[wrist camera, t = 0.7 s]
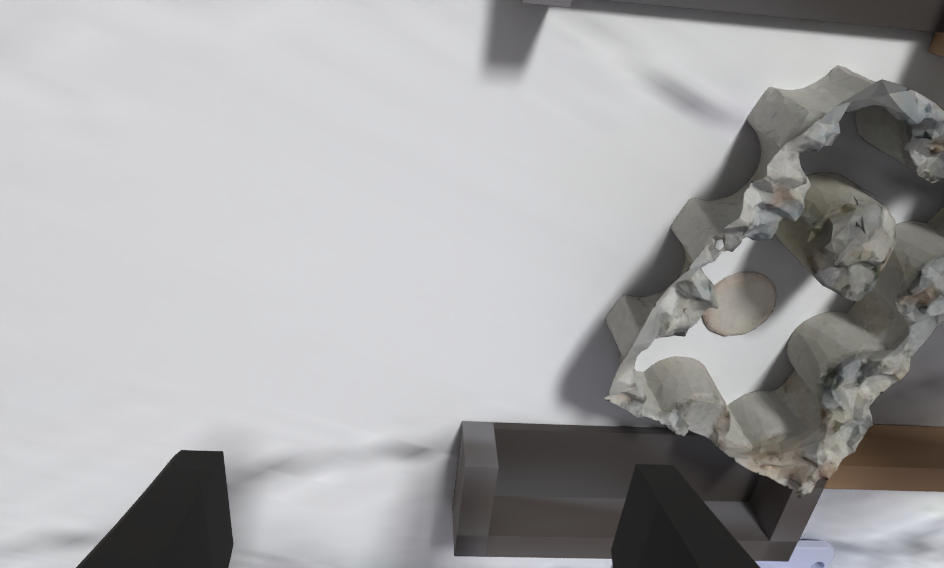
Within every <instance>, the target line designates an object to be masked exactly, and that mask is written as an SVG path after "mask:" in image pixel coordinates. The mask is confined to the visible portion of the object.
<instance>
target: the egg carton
mask: <svg viewBox="0 0 944 568" xmlns="http://www.w3.org/2000/svg"><path fill="white" fill-rule="evenodd" d="M855 110H856V115H855V118H856V125H857V131H858V132H859V134H860V135H861V137H862V138H863V139H864V140H865V141H866V142H868V143H869V144H871V145H872V146H874V147H876V148H877V149H879V150H881V151H882V152H884V153H885V154H887V155H889V156H891V157H893V158H894V159H896V160H898V161H899V162H901V163H902V164H904V165H905V166H906V167H908V168H909V169H911V170H912V171H913V172H914V173H915V174H917V175H918V176H919V177H922V178H924V179H925V180H927V181H929V182H931V183H936V182H939V181H941V180H944V111H943V110H942V109H940V108H939V106H938V105H937V104H935V103H934V102H933V101H931V100H929V99H927V98H926V97H924V96H922V95H921V94H919V93H917V92H916V91H913V90H911V89H909V88H907V87H905V86H902V85H899V84H896V83H892V82H889V81H886V80H880V81H878V82H874V81H871V80H869V79H867V78H865V77H863V76H861V75H859V74H856V73H854V72H852V71H850V70H849V69H847V68H846V67H842V66H836V67H835V68H834V69H833V70H832V71H831V72H829V73H828V74H827V75H826V76H825V77H823V78H822V79H820V80H819V81H817V82H815V83H813V84H811V85H809V86H807V87H805V88H803V89H795V90H784V89H778V88H774V87H769V88H768V89H767V90H766V91H765V92H764V94H763V95H762V97H761V98H760V99H759V101H758V102H757V104H756V105H755V107H754V108H753V109H752V111H751V112H750V114H749V116H748V118H747V121H748V123H749V124H750V126H751V127H752V128H753V129H754V130H755V132H756V134H757V136H758V139H759V142H760V145H761V158H760V162H759V166H758V167H757V170H756V172H755V173H754V175H753V176H752V177H751V179H750V180H749V181H748V182H747V183H746V184H745V185H744V186H743V187H742V188H741V189H740V190H739V191H738V192H736V193H734V194H732V195H730V196H728V197H725V198H722V199H717V200H700V199H696V198H691V199H690V200H689V201H688V202H687V203H686V204H685V206H684V207H683V209H682V210H681V212H680V213H679V214H678V216H677V217H676V218H675V220H674V221H673V223H672V225H671V229H672V231H673V232H674V234H675V235H676V236H677V238H678V239H679V241H680V242H681V243H682V245H683V246H684V249H685V258H686V260H685V263H684V266H683V269H682V272H681V273H680V275H679V276H678V278H677V280H676V281H675V282H674V283H672V284H671V285H670V286H669V287H667V288H666V289H664V290H663V291H661V292H659V293H656V294H654V295H651V296H645V297H633V296H628V295H622V296H621V297H620V298H619V300H618V301H617V302H616V303H615V305H614V306H613V308H612V309H611V311H610V312H609V314H608V315H607V317H606V323H607V326H608V328H609V329H610V331H611V332H612V334H613V337H614V339H615V342H616V344H617V346H618V349H619V350H620V354H621V355H620V357H619V369H618V371H617V373H616V375H615V377H614V380H613V383H612V385H611V388H610V391H609V394H608V396H606V397H605V398H604V399H606V400H608V401H609V402H612V403H614V404H616V405H618V406H620V407H621V408H623V409H625V410H626V411H628V412H630V413H631V414H633V415H635V416H636V417H638V418H641V417H644V416H646V417H649V418H651V419H653V420H656V421H658V422H659V423H661V424H663V425H665V426H666V427H668V428H669V429H670V430H672V431H673V432H674V433H676V434H677V435H681V436H685V435H686V433H687V432H688V430H690V431H692V432H694V433H697V434H700V435H702V436H705V437H707V438H709V439H710V440H712V442H713V443H714V444H715V445H716V446H717V447H718V448H719V449H721V450H722V451H723V452H724V453H726V454H727V455H728V456H729V457H731V458H732V459H733V460H735V461H736V462H737V463H739V464H741V465H742V466H744V467H745V468H747V469H749V470H751V471H753V472H755V473H758V474H760V475H763V476H767V477H769V478H770V479H772V480H774V481H776V482H778V483H780V484H782V485H784V486H785V487H787V488H790V489H797V491H796V493H795V495H796V496H797V497H798V498H799V499H801V498H803V497H804V496H805V495H806V494H808V493H811V492H812V490H813V488H814V486H815V483H816V482H817V481H818V480H819V479H825V480H828V479H829V478H830V477H831V476H832V474H833V473H834V472H836V471H837V470H838V467H839V464H840V462H841V461H842V459H843V458H845V457H846V456H848V455H849V454H851V453H853V452H855V451H856V448H857V446H858V444H859V442H860V441H861V440H862V439H863V437H864V435H865V433H866V432H867V430H868V429H869V428H870V427H871V426H873V423H872V415H871V412H870V409H869V407H870V405H871V404H872V403H873V401H874V400H875V399H876V397H877V396H879V395H880V394H881V393H883V392H884V391H885V390H886V389H887V388H889V387H890V386H891V385H892V384H894V383H896V382H898V381H899V380H901V379H902V378H903V377H904V376H905V375H906V374H907V373H908V372H909V370H910V362H911V357H912V356H913V355H914V354H915V353H916V352H917V350H918V349H919V348H920V347H921V346H922V345H923V344H924V343H925V342H926V340H927V339H928V338H929V337H930V335H931V334H932V332H933V331H934V330H935V328H936V327H937V326H938V325H939V324H941V323H942V322H944V207H943V208H942V209H941V210H940V211H939V212H938V213H937V214H936V215H935V216H934V217H933V218H932V219H931V220H930V221H929V222H927V223H924V222H918V221H909V222H903V223H899V224H895V219H894V218H893V216H892V215H891V213H890V212H889V210H888V209H887V208H886V207H884V206H883V205H882V204H880V203H879V202H877V201H876V200H875V199H873V198H872V197H871V196H869V195H868V194H866V193H865V192H864V191H862V190H861V189H859V188H858V187H860V186H858V185H856V184H854V183H853V182H851V181H849V180H848V179H846V178H844V177H843V176H839V175H837V174H833V173H817V174H812V175H809V176H806V175H805V173H804V172H803V170H802V168H801V165H800V158H799V156H800V153H802V152H804V151H806V150H810V151H814V152H819V151H820V149H821V148H822V147H823V146H832V145H833V143H834V142H835V141H836V139H837V138H838V136H839V135H840V127H839V121H840V120H841V118H842V116H843V114H844V113H845V112H851V111H855ZM852 183H853V184H852ZM855 185H856V186H855ZM857 186H858V187H857ZM860 188H861V187H860ZM862 189H863V188H862ZM864 190H865V189H864ZM866 191H867V190H866ZM867 192H868V191H867ZM869 193H870V192H869ZM871 194H872V193H871ZM873 195H874V194H873ZM774 234H775V235H776V236H777V238H778V239H779V240H780V242H781V243H782V244H783V245H784V246H785V247H786V248H787V249H788V250H789V251H790V252H791V253H792V254H793V255H794V256H795V257H796V258H797V259H798V261H799V262H800V263H801V264H802V265H803V266H804V267H805V268H806V269H807V270H808V271H809V272H810V273H811V274H812V275H813V276H814V277H815V278H816V279H817V280H818V281H819V282H820V283H821V284H822V285H823V286H825V287H827V288H829V289H831V290H832V291H834V292H836V293H838V294H839V295H841V296H842V297H844V298H846V299H850V300H853V301H856V302H855V303H854V305H853V306H852V308H851V309H850V310H849V311H848V312H847V313H844V312H825V313H822V314H818V315H816V316H814V317H812V318H810V319H808V320H806V321H804V322H803V323H802V324H800V325H799V326H798V327H797V328H796V329H795V331H794V332H793V334H792V335H791V337H790V340H789V342H788V344H787V351H786V353H787V356H788V358H789V361H790V363H791V365H792V366H793V367H794V369H795V370H794V372H793V373H792V374H791V375H790V377H789V378H788V379H787V380H786V381H785V382H784V383H783V384H782V385H781V386H780V387H779V388H777V389H775V390H774V391H766V390H760V391H755V392H750V393H748V394H745V395H743V396H741V397H740V398H738V399H736V400H735V401H733V402H732V403H730V404H729V405H726V403H725V401H724V399H723V397H722V396H721V394H720V393H719V391H718V389H717V387H716V385H715V383H714V382H713V380H712V378H711V376H710V374H709V373H708V371H707V369H706V367H705V366H704V365H703V364H702V363H701V362H699V361H697V360H695V359H693V358H689V357H677V356H675V357H669V358H666V359H663V360H661V361H659V362H657V363H655V364H654V365H652V366H650V367H649V368H648V369H647V370H646V371H645V372H639V371H636V370H635V369H634V366H635V361H636V357H637V356H638V355H639V354H640V353H641V351H643V350H645V349H647V348H648V347H649V346H650V344H651V343H652V342H653V340H654V339H656V338H659V337H669V336H674V335H676V336H685V335H686V333H687V331H688V329H689V328H691V327H692V326H693V325H695V324H696V323H697V321H698V320H699V319H700V317H701V316H702V317H703V321H704V324H705V325H706V326H707V328H708V329H710V330H711V331H713V332H715V333H717V334H720V335H723V336H729V335H731V336H733V335H743V334H745V333H748V332H750V331H752V330H754V329H756V328H757V327H758V326H759V325H761V324H762V323H763V322H764V321H766V320H767V318H768V317H769V315H770V314H771V313H772V312H773V308H774V306H775V302H776V291H775V287H774V285H773V284H772V282H771V280H770V279H768V278H767V277H766V276H765V275H763V274H759V273H755V272H739V273H736V274H733V275H731V276H728V277H726V278H724V279H723V280H721V281H720V282H718V283H717V284H715V285H713V284H712V282H711V281H710V280H709V279H708V278H707V276H706V275H705V274H704V272H703V271H702V269H701V267H703V266H704V265H706V264H708V263H711V262H713V261H715V260H716V259H717V257H718V256H719V254H720V253H721V252H722V251H731V252H733V251H734V250H735V249H736V248H737V247H738V246H739V245H740V244H741V241H742V239H743V238H745V237H749V238H750V239H752V240H764V239H772V237H773V235H774ZM719 239H723V243H724V247H723V248H722V249H721V250H720V251H719V250H718V249H716V248H715V243H716V240H719Z"/></svg>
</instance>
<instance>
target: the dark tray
mask: <svg viewBox="0 0 944 568" xmlns="http://www.w3.org/2000/svg"><path fill="white" fill-rule="evenodd" d="M521 1H522V2H523V3H530V4H540V5H551V6H561V7H571V1H572V0H521ZM608 1H619V2H629V3H640V4H650V5H660V6H671V7H681V8H692V9H702V10H712V11H723V12H733V13H743V14H754V15H764V16H775V17H785V18H795V19H806V20H816V21H827V22H837V23H847V24H858V25H868V26H879V27H889V28H899V29H910V30H920V31H931V32H935V34H934V37H933V39H932V42H931V44H930V47H929V49H928V52H931V53H933V54H936V55H939V56H942V57H944V0H608ZM636 464H656V465H673V466H674V467H675V468H676V469H677V470H678V472H679V473H680V474H681V475H682V476H683V477H684V479H685V480H686V481H687V482H688V483H689V485H690V486H691V487H692V488H693V489H694V490H695V492H696V493H697V494H698V495H699V496H700V498H701V499H702V500H703V501H704V502H705V504H706V505H707V506H708V507H709V508H710V510H711V511H712V512H713V513H714V514H715V516H716V517H717V518H718V519H719V520H720V521H721V523H722V524H723V525H724V526H725V527H726V529H727V530H728V531H729V532H730V533H731V534H732V536H733V537H734V538H735V539H736V540H737V541H738V543H739V544H740V545H741V546H742V547H743V548H744V550H745V551H746V552H747V553H748V554H749V555H750V556H751V558H752V559H753V560H754V561H781V562H788V561H789V559H790V557H791V555H792V553H793V551H794V549H795V547H796V545H797V543H798V541H799V539H800V537H801V535H802V533H803V530H804V528H805V526H806V524H807V522H808V520H809V518H810V516H811V514H812V512H813V510H814V508H815V506H816V504H817V502H818V499H819V497H820V495H821V493H822V491H823V489H824V488H825V489H862V490H898V491H935V492H944V427H925V426H898V425H873V426H871V427H870V428H869V429H868V430H867V432H866V433H865V435H864V437H863V439H862V440H861V441H860V442H859V444H858V446H857V448H856V451H855V452H853V453H851V454H849V455H848V456H846V457H845V458H843V459H842V461H841V462H840V464H839V467H838V470H837V471H836V472H834V473H833V474H832V476H831V477H830V478H829V479H828V480H825V479H819V480H818V481H817V482H816V483H815V486H814V488H813V490H812V492H811V493H808V494H806V495H805V496H804V497H803V498H801V499H799V498H798V497H797V496H796V495H795V493H796V491H797V489H790V488H787V487H785V486H784V485H782V484H780V483H778V482H776V481H774V480H772V479H770V478H769V477H767V476H763V475H760V474H758V473H755V472H753V471H751V470H749V469H747V468H745V467H744V466H742V465H741V464H739V463H737V462H736V461H735V460H733V459H732V458H731V457H729V456H728V455H727V454H726V453H724V452H723V451H722V450H721V449H719V448H718V447H717V446H716V445H715V444H714V443H713V442H712V440H710V439H709V438H707V437H705V436H702V435H700V434H697V433H694V432H692V431H690V430H688V432H687V433H686V435H685V436H681V435H677V434H676V433H674V432H673V431H672V430H670V429H664V428H636V427H607V426H579V425H551V424H522V423H494V422H466V421H462V430H461V438H460V447H459V456H458V464H457V473H456V482H455V490H454V499H453V508H452V511H453V535H454V556H477V557H538V558H598V559H612V556H611V548H612V545H613V541H614V538H615V534H616V531H617V527H618V524H619V520H620V517H621V514H622V510H623V507H624V503H625V500H626V496H627V493H628V489H629V486H630V482H631V479H632V475H633V472H634V469H635V465H636Z"/></svg>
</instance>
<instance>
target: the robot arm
mask: <svg viewBox="0 0 944 568" xmlns="http://www.w3.org/2000/svg"><path fill="white" fill-rule="evenodd" d="M232 548H233V537H232V528H231V519H230V510H229V501H228V492H227V483H226V474H225V465H224V456H223V451H192V450H181V451H180V452H178V453H177V454H176V455H175V456H174V457H173V458H172V459H171V460H170V461H169V463H168V464H167V465H166V466H165V468H164V469H163V470H162V471H161V472H160V474H159V475H158V476H157V477H156V478H155V480H154V481H153V482H152V483H151V484H150V486H149V487H148V488H147V489H146V490H145V491H144V493H143V494H142V495H141V496H140V497H139V498H138V500H137V501H136V502H135V503H134V504H133V505H132V507H131V508H130V509H129V510H128V511H127V512H126V513H125V515H124V516H123V517H122V518H121V519H120V520H119V521H118V523H117V524H116V525H115V526H114V527H113V528H112V529H111V530H110V531H109V533H108V534H107V535H106V536H105V537H104V538H103V539H102V540H101V541H100V542H99V543H98V544H97V546H96V547H95V548H94V549H93V550H92V551H91V552H90V553H89V554H88V555H87V556H86V557H85V559H84V560H83V561H82V562H81V563H80V564H79V565H78V566H77V567H76V568H228V567H229V562H230V558H231V553H232ZM834 555H835V552H834V550H833V548H832V547H831V545H830V544H829V543H828V542H826V541H812V540H799V541H798V543H797V545H796V547H795V549H794V551H793V553H792V555H791V557H790V559H789V561H788V562H781V561H754V560H753V559H752V558H751V556H750V555H749V554H748V553H747V552H746V551H745V550H744V548H743V547H742V546H741V545H740V544H739V543H738V541H737V540H736V539H735V538H734V537H733V536H732V534H731V533H730V532H729V531H728V530H727V529H726V527H725V526H724V525H723V524H722V523H721V521H720V520H719V519H718V518H717V517H716V516H715V514H714V513H713V512H712V511H711V510H710V508H709V507H708V506H707V505H706V504H705V502H704V501H703V500H702V499H701V498H700V496H699V495H698V494H697V493H696V492H695V490H694V489H693V488H692V487H691V486H690V485H689V483H688V482H687V481H686V480H685V479H684V477H683V476H682V475H681V474H680V473H679V472H678V470H677V469H676V468H675V467H674V466H673V465H656V464H636V465H635V469H634V472H633V475H632V479H631V482H630V486H629V489H628V493H627V496H626V500H625V503H624V507H623V510H622V514H621V517H620V520H619V524H618V527H617V531H616V534H615V538H614V541H613V545H612V548H611V556H612V562H613V568H828V567H829V565H830V563H831V561H832V560H833V558H834Z"/></svg>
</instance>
